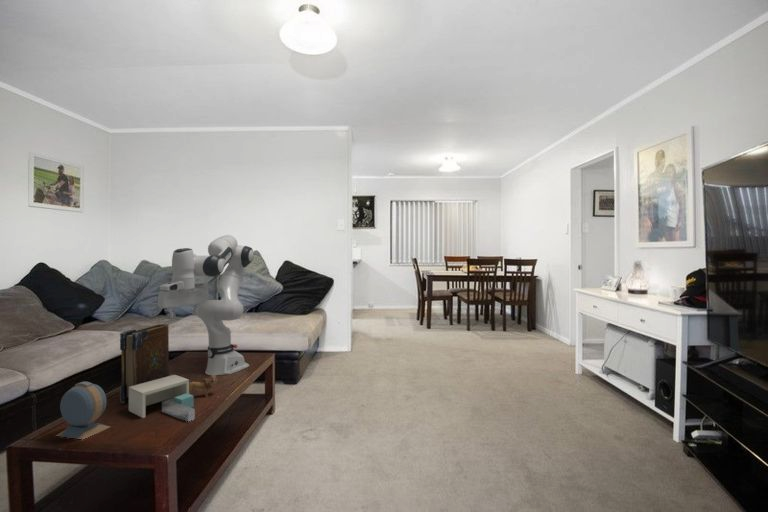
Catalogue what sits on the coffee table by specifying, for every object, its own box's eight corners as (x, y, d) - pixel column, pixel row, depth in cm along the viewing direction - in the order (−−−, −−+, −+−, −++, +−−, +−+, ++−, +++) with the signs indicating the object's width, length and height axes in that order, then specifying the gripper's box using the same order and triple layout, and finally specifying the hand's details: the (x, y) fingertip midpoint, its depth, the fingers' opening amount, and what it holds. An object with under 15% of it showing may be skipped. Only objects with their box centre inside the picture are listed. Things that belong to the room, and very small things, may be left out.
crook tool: (180, 405, 150) (180, 395, 150) (206, 414, 141) (206, 404, 141) (161, 411, 144) (161, 402, 144) (188, 422, 135) (188, 411, 135)
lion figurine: (217, 391, 165) (217, 372, 165) (216, 395, 160) (216, 375, 160) (181, 396, 160) (181, 376, 160) (179, 401, 155) (179, 380, 155)
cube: (186, 405, 151) (186, 393, 151) (193, 407, 148) (193, 395, 148) (174, 409, 146) (174, 397, 146) (181, 412, 144) (181, 399, 144)
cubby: (174, 396, 160) (174, 374, 160) (189, 402, 153) (189, 379, 153) (128, 410, 145) (128, 386, 145) (142, 418, 138) (142, 393, 138)
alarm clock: (112, 427, 131) (112, 379, 131) (85, 440, 121) (85, 388, 121) (82, 423, 134) (82, 376, 134) (53, 436, 124) (53, 385, 125)
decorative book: (136, 403, 152) (136, 333, 152) (120, 402, 153) (120, 333, 153) (171, 383, 176) (171, 323, 176) (157, 383, 176) (157, 322, 176)
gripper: (202, 282, 169) (202, 311, 169) (155, 286, 151) (155, 318, 151) (209, 283, 165) (210, 313, 165) (163, 287, 148) (163, 320, 148)
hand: (183, 315), depth 158 cm, fingers open, 8 cm apart
